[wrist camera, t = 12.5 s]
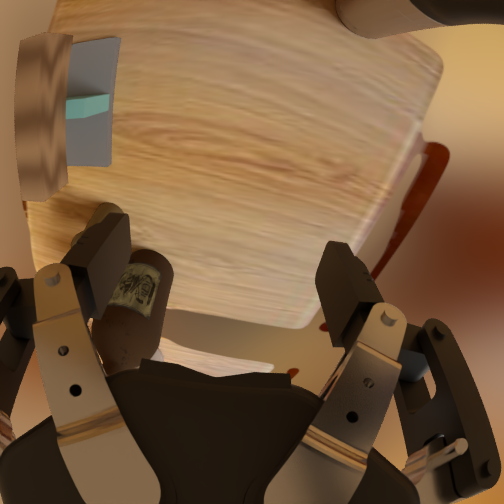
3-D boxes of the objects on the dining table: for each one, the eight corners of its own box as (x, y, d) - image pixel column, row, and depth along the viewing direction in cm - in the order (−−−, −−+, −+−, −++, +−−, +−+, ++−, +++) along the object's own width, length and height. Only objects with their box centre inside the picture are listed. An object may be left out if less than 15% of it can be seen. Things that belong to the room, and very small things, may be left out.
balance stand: (66, 47, 26) (33, 45, 18) (121, 38, 27) (93, 31, 20) (62, 162, 36) (33, 181, 29) (111, 163, 38) (85, 183, 31)
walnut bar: (49, 41, 19) (20, 40, 14) (73, 35, 19) (44, 32, 14) (47, 182, 30) (22, 200, 25) (68, 183, 30) (44, 202, 25)
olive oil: (174, 296, 53) (148, 413, 32) (124, 285, 51) (81, 394, 30) (180, 252, 47) (144, 381, 26) (123, 240, 45) (61, 356, 25)
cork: (90, 207, 42) (58, 241, 32) (118, 198, 41) (88, 233, 32) (103, 236, 45) (77, 274, 36) (131, 230, 44) (106, 269, 35)
